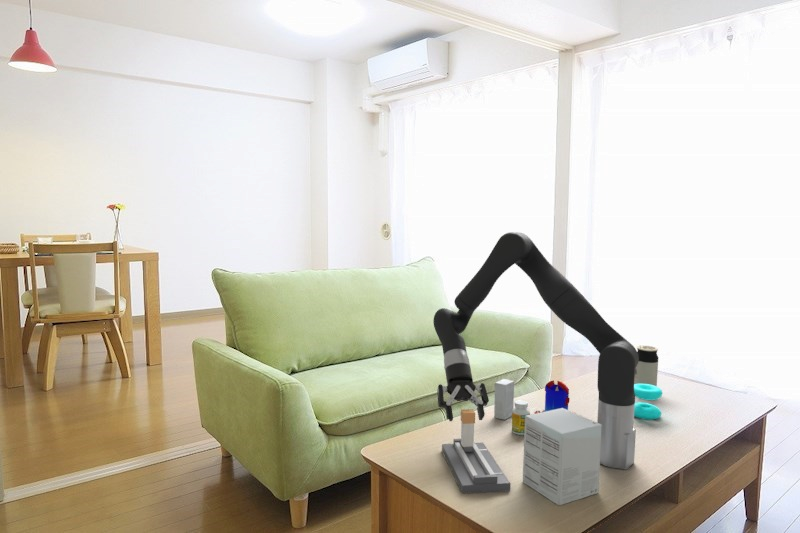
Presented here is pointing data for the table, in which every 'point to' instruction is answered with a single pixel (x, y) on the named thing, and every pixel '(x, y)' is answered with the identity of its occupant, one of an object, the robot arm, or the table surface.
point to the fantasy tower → (556, 396)
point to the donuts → (647, 409)
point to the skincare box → (504, 399)
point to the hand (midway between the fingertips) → (466, 419)
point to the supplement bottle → (519, 417)
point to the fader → (467, 429)
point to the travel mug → (646, 366)
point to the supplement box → (562, 455)
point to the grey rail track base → (475, 468)
